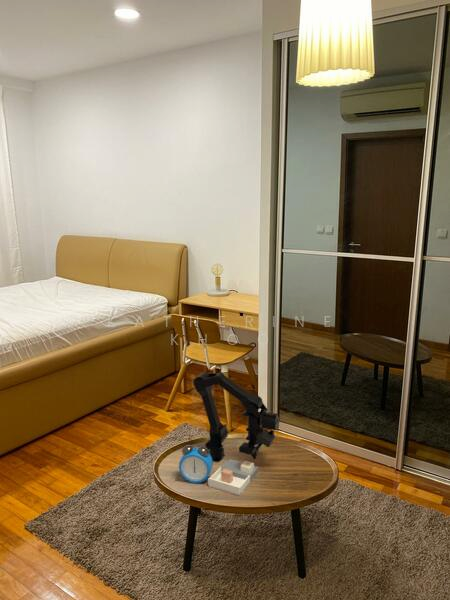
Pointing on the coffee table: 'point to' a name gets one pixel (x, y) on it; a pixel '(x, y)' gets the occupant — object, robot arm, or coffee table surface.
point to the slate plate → (239, 469)
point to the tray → (233, 487)
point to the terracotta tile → (226, 476)
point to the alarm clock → (195, 463)
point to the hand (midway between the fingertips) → (254, 458)
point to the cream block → (247, 467)
